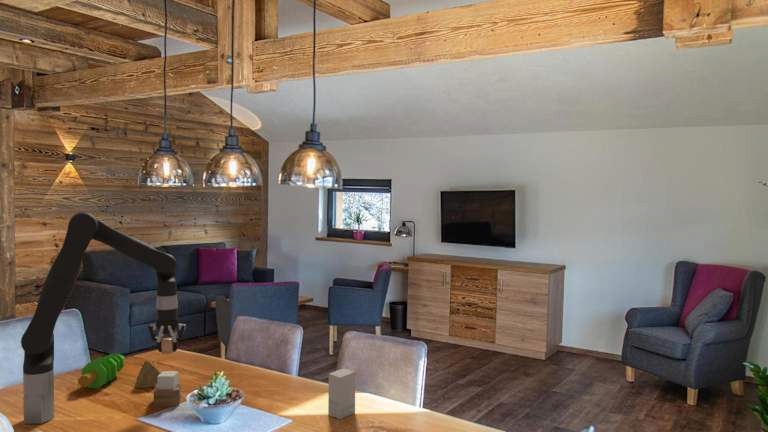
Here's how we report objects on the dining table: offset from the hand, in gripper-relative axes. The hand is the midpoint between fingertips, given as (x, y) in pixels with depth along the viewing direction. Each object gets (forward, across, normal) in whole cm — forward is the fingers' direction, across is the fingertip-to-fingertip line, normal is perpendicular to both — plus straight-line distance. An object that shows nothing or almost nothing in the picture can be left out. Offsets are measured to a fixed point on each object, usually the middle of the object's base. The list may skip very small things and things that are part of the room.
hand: (167, 351), depth 228 cm
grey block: (+14, 0, 0) cm, 14 cm away
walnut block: (+20, 0, 0) cm, 20 cm away
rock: (+20, -12, +18) cm, 30 cm away
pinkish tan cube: (0, 0, 0) cm, 0 cm away
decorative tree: (+20, -33, +25) cm, 46 cm away
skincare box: (+20, +66, -15) cm, 70 cm away
